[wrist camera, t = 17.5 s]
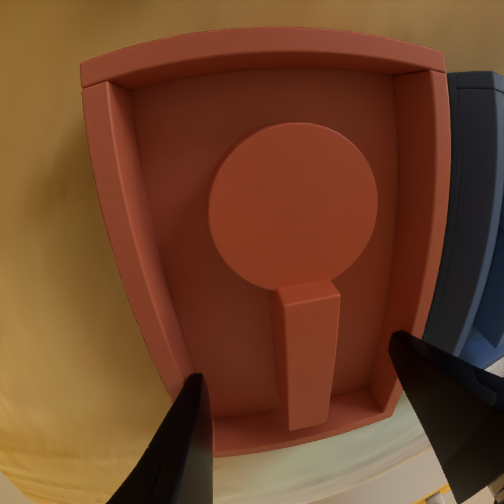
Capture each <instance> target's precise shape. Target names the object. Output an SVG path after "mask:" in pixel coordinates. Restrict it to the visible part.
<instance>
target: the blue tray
mask: <svg viewBox="0 0 504 504" xmlns="http://www.w3.org/2000/svg"><path fill="white" fill-rule="evenodd" d="M448 81H449V91H450V102H451V118H452V175H451V192H450V204H449V214H448V222H447V230H446V237H445V244H444V250H443V256H442V261H441V267H440V272H439V277H438V281H437V286H436V290H435V294H434V299H433V303H432V307H431V310H430V314H429V318H428V321H427V325H426V328H425V332H424V335H423V338H422V340H423V341H425V342H427V343H430V344H432V345H434V346H436V347H438V348H440V349H442V350H444V351H446V352H448V353H450V354H452V355H454V356H456V357H458V358H460V359H462V360H464V361H466V362H468V363H470V364H472V365H475V366H477V367H479V368H481V369H483V370H484V369H486V368H487V367H489V366H490V365H492V364H493V363H495V362H496V361H498V360H499V359H501V358H502V357H504V344H503V345H502V346H500V347H499V348H497V349H495V348H494V347H493V346H492V345H491V344H490V343H489V342H488V341H487V340H486V339H485V338H484V337H483V336H482V335H481V334H480V333H479V332H478V331H477V330H476V329H475V328H474V326H473V325H474V323H475V320H476V317H477V314H478V311H479V308H480V305H481V302H482V299H483V296H484V293H485V289H486V286H487V283H488V279H489V275H490V272H491V268H492V264H493V259H494V255H495V251H496V246H497V241H498V236H499V231H500V227H499V226H498V224H499V218H500V211H501V203H502V195H503V184H504V76H502V75H500V74H497V73H495V72H493V71H470V72H457V73H456V72H452V73H448Z"/></svg>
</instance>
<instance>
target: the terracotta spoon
mask: <svg viewBox="0 0 504 504" xmlns="http://www.w3.org/2000/svg"><path fill="white" fill-rule="evenodd" d="M377 210H378V193H377V187H376V182H375V179H374V176H373V173H372V171H371V168H370V166H369V164H368V162H367V161H366V159H365V157H364V156H363V154H362V153H361V152H360V151H359V150H358V148H357V147H356V146H355V145H354V144H353V143H352V142H351V141H349V140H348V139H347V138H346V137H344V136H343V135H341V134H340V133H338V132H336V131H334V130H332V129H330V128H328V127H325V126H321V125H318V124H313V123H307V122H286V123H276V124H270V125H266V126H263V127H259V128H257V129H255V130H252V131H250V132H248V133H247V134H245V135H244V136H242V137H240V138H239V139H238V140H237V141H236V142H234V143H233V144H232V145H231V146H230V147H229V148H228V149H227V151H226V152H225V153H224V154H223V156H222V157H221V159H220V160H219V162H218V164H217V166H216V168H215V170H214V172H213V175H212V178H211V181H210V186H209V192H208V212H207V216H208V226H209V231H210V235H211V238H212V241H213V243H214V246H215V248H216V250H217V252H218V253H219V255H220V257H221V258H222V260H223V261H224V262H225V264H226V265H227V266H228V267H229V268H230V269H231V270H232V271H233V272H234V273H235V274H237V275H238V276H239V277H241V278H242V279H243V280H245V281H247V282H249V283H251V284H252V285H255V286H257V287H260V288H263V289H266V290H269V297H270V308H271V319H272V330H273V341H274V352H275V364H276V376H277V388H278V393H279V397H280V401H281V404H282V408H283V412H284V416H285V419H286V423H287V427H288V430H289V431H292V430H297V429H301V428H306V427H310V426H314V425H318V424H322V423H325V422H327V416H328V410H329V403H330V396H331V389H332V381H333V373H334V365H335V356H336V346H337V336H338V324H339V311H340V293H339V292H338V290H337V289H336V288H335V286H334V285H333V284H332V282H331V281H332V280H333V279H335V278H336V277H338V276H339V275H341V274H342V273H343V272H344V271H346V270H347V269H348V268H349V267H350V266H351V265H352V264H353V263H354V262H355V261H356V260H357V258H358V257H359V256H360V255H361V253H362V252H363V250H364V249H365V247H366V245H367V244H368V242H369V239H370V237H371V235H372V232H373V229H374V226H375V222H376V218H377Z"/></svg>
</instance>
